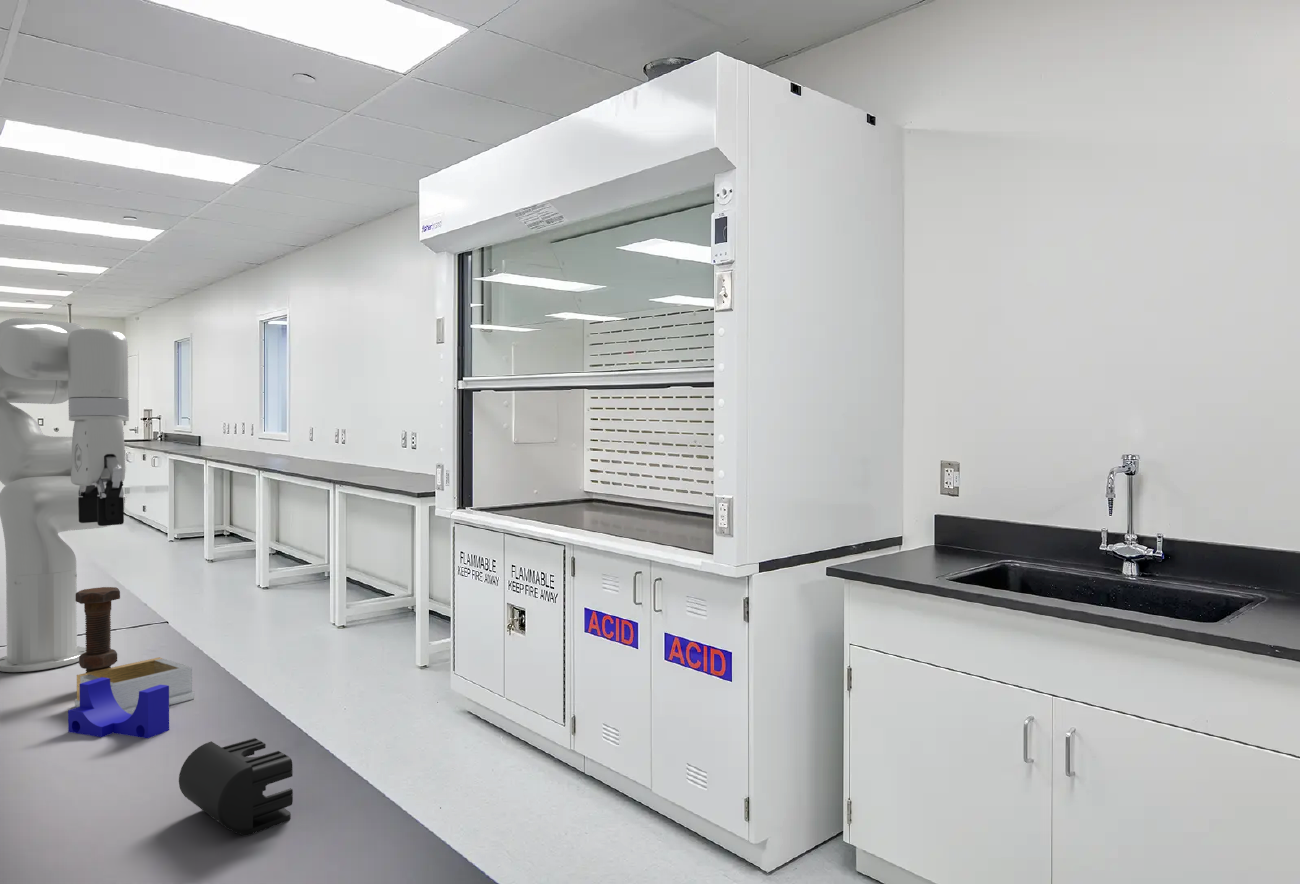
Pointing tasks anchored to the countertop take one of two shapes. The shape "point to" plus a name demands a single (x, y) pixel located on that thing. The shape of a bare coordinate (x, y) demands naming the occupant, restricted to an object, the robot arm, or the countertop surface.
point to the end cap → (238, 785)
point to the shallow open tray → (143, 681)
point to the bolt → (97, 627)
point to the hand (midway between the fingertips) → (100, 523)
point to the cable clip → (119, 712)
